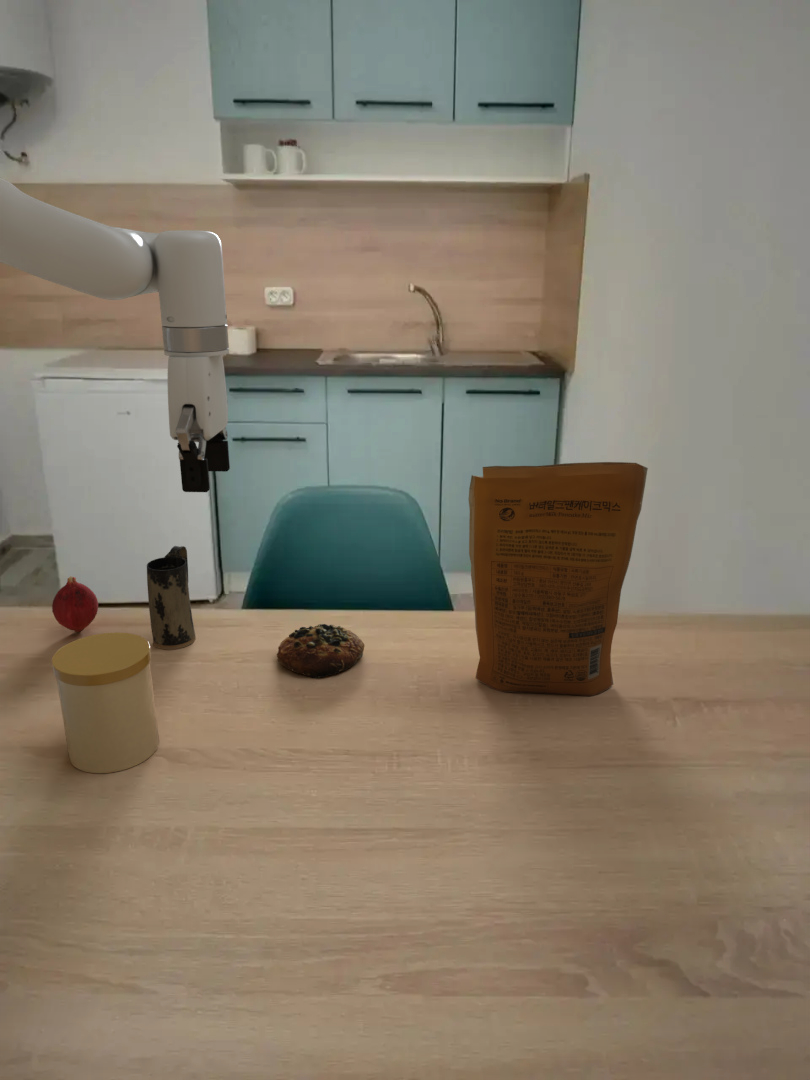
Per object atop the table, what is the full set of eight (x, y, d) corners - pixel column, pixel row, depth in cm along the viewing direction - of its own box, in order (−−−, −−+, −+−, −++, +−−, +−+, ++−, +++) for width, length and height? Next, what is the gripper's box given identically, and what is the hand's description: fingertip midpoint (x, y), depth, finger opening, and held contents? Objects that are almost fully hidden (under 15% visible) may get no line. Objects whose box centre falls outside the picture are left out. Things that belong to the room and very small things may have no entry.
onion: (106, 633, 113) (99, 579, 110) (62, 644, 110) (53, 589, 107) (94, 619, 118) (87, 566, 115) (52, 629, 115) (43, 575, 112)
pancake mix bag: (630, 706, 95) (654, 468, 86) (463, 697, 97) (469, 464, 87) (622, 677, 101) (643, 453, 92) (465, 670, 103) (470, 449, 94)
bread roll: (297, 685, 99) (294, 645, 98) (264, 659, 108) (262, 623, 107) (379, 666, 104) (377, 628, 103) (341, 644, 114) (339, 608, 113)
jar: (55, 743, 88) (39, 648, 84) (141, 714, 93) (130, 624, 90) (84, 786, 81) (68, 685, 77) (175, 752, 86) (164, 656, 83)
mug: (185, 651, 108) (176, 565, 104) (145, 648, 109) (135, 563, 105) (208, 625, 115) (201, 544, 111) (171, 623, 116) (162, 542, 112)
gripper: (186, 334, 107) (197, 463, 112) (139, 349, 90) (155, 500, 96) (244, 334, 106) (252, 464, 112) (207, 349, 90) (219, 501, 96)
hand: (207, 480), depth 104 cm, fingers open, 9 cm apart
